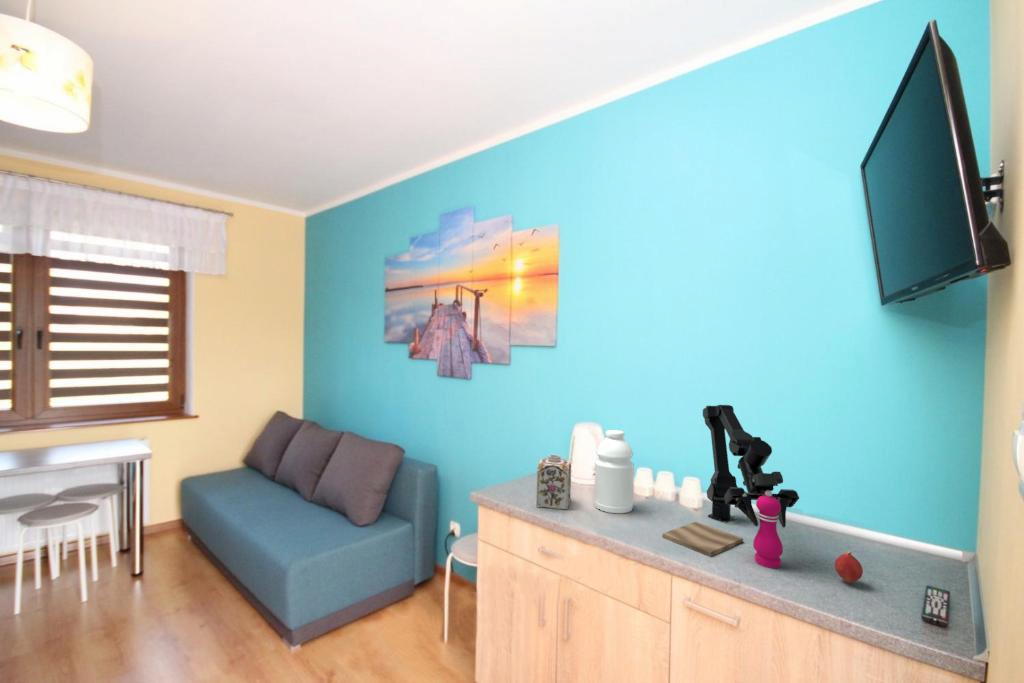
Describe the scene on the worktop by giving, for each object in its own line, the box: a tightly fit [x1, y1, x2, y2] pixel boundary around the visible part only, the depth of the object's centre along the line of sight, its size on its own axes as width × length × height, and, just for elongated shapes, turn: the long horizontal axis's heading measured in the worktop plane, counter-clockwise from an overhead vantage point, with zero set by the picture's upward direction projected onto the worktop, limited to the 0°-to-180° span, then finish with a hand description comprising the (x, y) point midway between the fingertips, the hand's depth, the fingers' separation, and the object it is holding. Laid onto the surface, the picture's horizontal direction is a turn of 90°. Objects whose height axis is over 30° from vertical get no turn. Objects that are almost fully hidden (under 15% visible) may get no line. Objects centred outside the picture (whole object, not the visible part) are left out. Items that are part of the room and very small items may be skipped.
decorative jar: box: [536, 454, 572, 510], centre depth 173 cm, size 12×12×18 cm
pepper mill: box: [752, 490, 784, 569], centre depth 128 cm, size 7×7×20 cm
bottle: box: [594, 429, 635, 514], centre depth 170 cm, size 14×14×28 cm
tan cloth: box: [662, 521, 744, 558], centre depth 143 cm, size 18×16×1 cm
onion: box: [834, 551, 864, 584], centre depth 118 cm, size 6×6×8 cm
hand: (770, 526), depth 126 cm, fingers open, 7 cm apart
